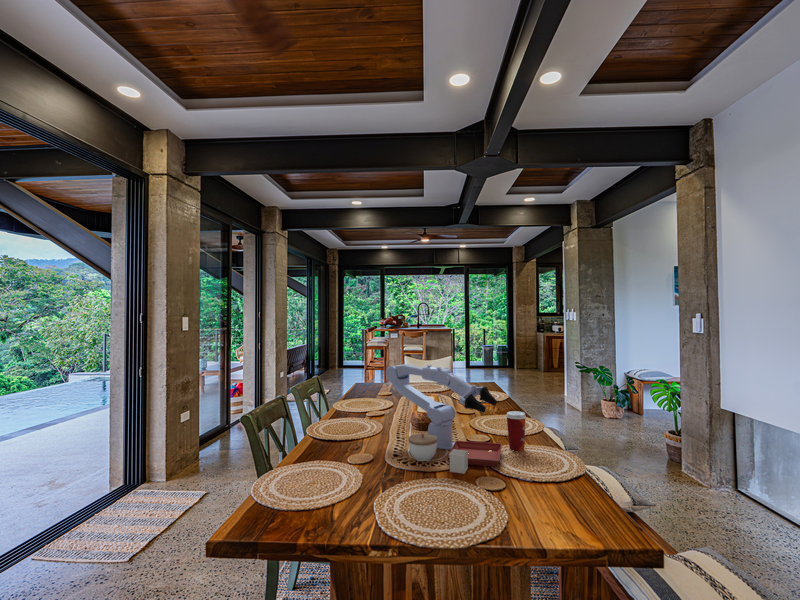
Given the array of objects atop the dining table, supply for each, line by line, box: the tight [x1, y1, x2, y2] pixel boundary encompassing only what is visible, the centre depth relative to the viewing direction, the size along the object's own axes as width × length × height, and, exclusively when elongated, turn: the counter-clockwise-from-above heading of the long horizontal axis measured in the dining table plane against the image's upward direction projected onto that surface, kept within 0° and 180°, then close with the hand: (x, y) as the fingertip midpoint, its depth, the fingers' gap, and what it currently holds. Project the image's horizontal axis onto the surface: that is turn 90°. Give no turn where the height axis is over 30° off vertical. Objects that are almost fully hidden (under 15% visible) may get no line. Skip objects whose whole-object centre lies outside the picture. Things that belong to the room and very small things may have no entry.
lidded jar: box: [407, 432, 438, 462], centre depth 148 cm, size 11×11×9 cm
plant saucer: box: [448, 440, 503, 467], centre depth 148 cm, size 18×18×3 cm
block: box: [449, 449, 469, 475], centre depth 137 cm, size 5×5×6 cm
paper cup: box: [505, 410, 527, 452], centre depth 156 cm, size 8×8×14 cm
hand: (490, 406), depth 148 cm, fingers open, 7 cm apart
